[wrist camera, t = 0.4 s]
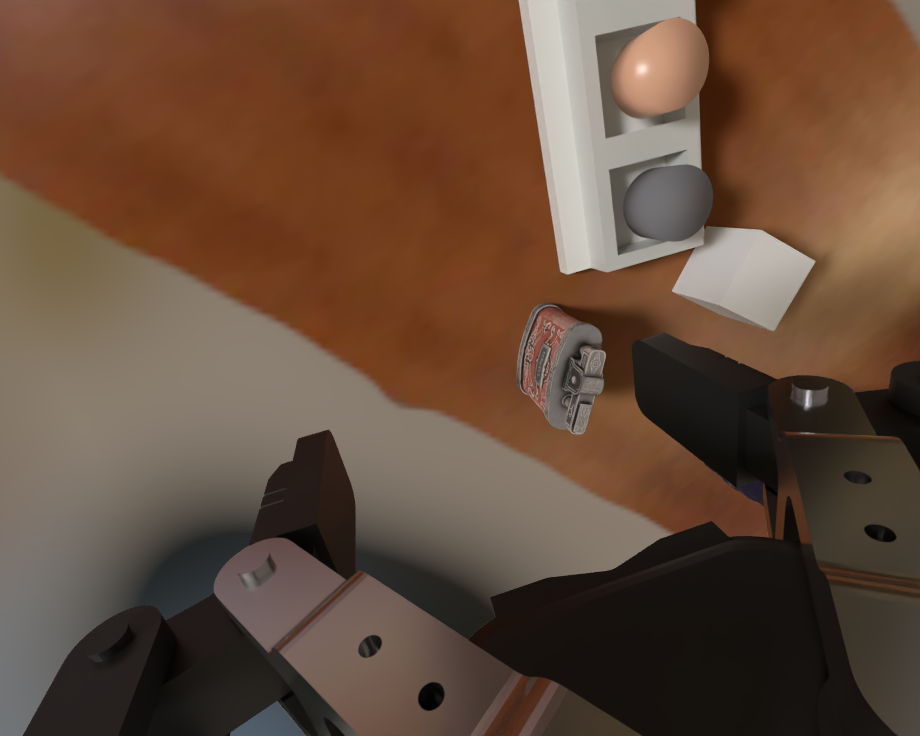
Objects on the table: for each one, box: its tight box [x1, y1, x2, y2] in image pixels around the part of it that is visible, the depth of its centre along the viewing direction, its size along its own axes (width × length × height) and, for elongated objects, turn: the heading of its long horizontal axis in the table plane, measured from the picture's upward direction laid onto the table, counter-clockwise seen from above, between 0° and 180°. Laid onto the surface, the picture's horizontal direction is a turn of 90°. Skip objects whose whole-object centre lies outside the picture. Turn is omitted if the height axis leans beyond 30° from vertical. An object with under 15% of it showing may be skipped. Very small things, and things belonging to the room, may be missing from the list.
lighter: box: [517, 303, 606, 434], centre depth 36 cm, size 8×3×10 cm, turn 170°
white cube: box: [672, 226, 816, 332], centre depth 39 cm, size 6×6×6 cm
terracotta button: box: [611, 18, 709, 119], centre depth 30 cm, size 5×5×3 cm
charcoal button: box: [623, 164, 713, 242], centre depth 32 cm, size 5×5×3 cm
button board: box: [519, 0, 704, 274], centre depth 33 cm, size 24×12×4 cm, turn 13°
